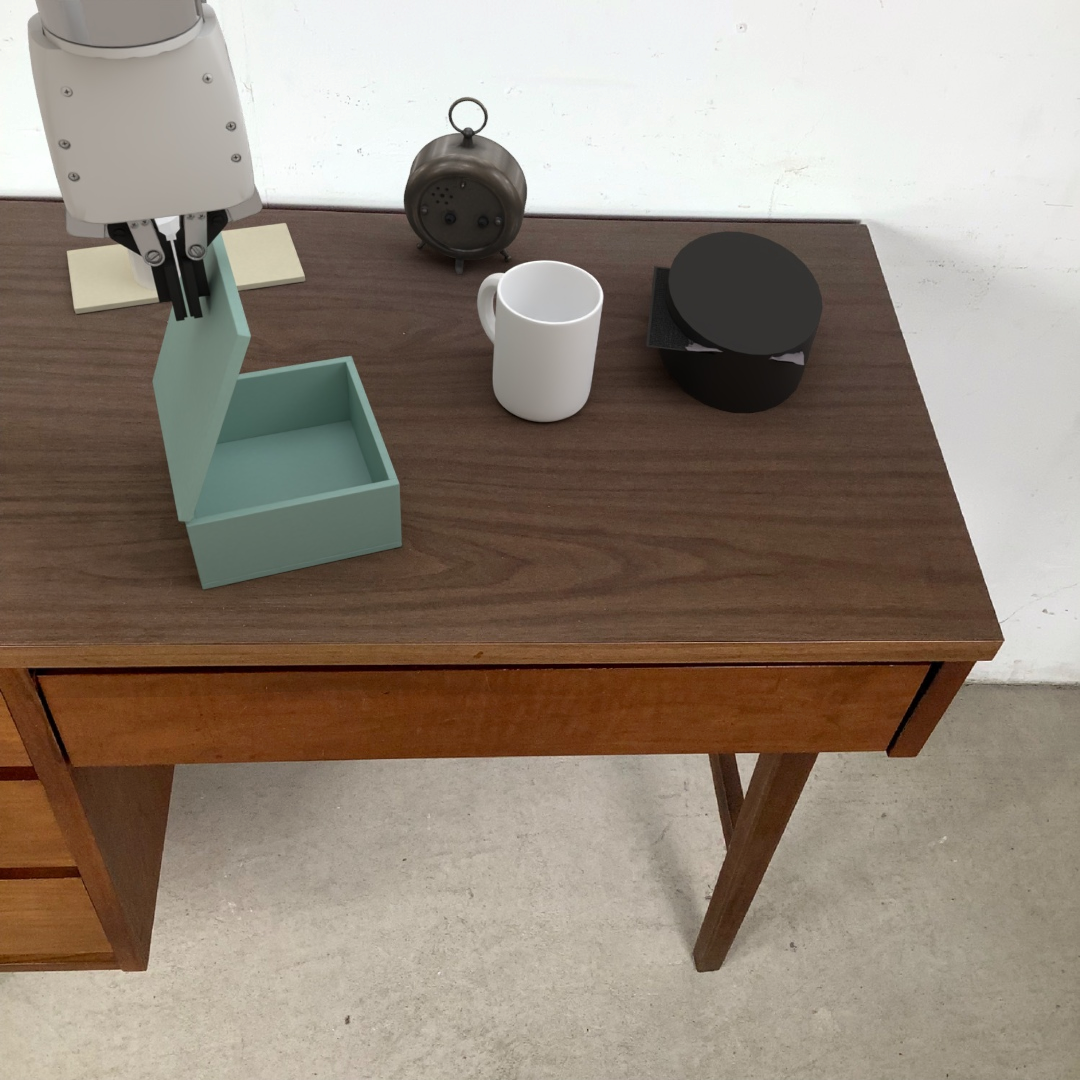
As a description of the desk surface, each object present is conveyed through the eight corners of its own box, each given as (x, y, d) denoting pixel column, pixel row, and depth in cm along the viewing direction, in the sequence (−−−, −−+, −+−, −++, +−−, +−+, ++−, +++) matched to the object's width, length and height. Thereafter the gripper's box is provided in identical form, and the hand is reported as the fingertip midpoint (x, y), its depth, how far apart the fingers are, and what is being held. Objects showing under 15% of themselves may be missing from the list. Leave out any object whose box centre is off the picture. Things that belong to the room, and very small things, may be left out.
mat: (75, 314, 92) (73, 308, 92) (68, 256, 98) (66, 250, 97) (305, 281, 98) (305, 275, 98) (286, 228, 103) (285, 222, 103)
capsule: (197, 255, 98) (182, 176, 92) (192, 290, 95) (175, 210, 89) (137, 256, 98) (117, 176, 92) (130, 291, 94) (109, 210, 88)
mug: (443, 365, 92) (443, 262, 84) (513, 328, 96) (520, 227, 88) (539, 440, 86) (548, 338, 79) (609, 397, 90) (625, 296, 83)
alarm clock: (523, 252, 104) (535, 90, 91) (517, 285, 100) (528, 120, 88) (411, 239, 104) (408, 75, 91) (401, 271, 100) (396, 105, 88)
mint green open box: (356, 419, 86) (351, 355, 81) (402, 546, 78) (399, 483, 73) (175, 452, 82) (158, 387, 77) (202, 590, 74) (186, 526, 69)
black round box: (800, 308, 102) (818, 238, 97) (809, 423, 90) (831, 349, 84) (649, 291, 103) (659, 221, 98) (638, 403, 91) (648, 329, 85)
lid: (212, 202, 68) (200, 199, 68) (251, 336, 60) (237, 334, 60) (163, 383, 77) (151, 381, 77) (191, 522, 69) (178, 521, 68)
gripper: (259, -46, 56) (295, 254, 70) (-51, -26, 52) (52, 289, 65) (288, 15, 51) (321, 323, 65) (-50, 42, 47) (61, 365, 61)
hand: (186, 305), depth 65 cm, fingers closed
